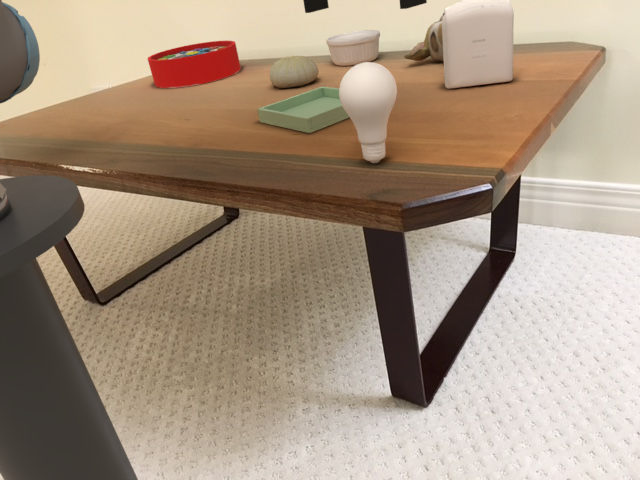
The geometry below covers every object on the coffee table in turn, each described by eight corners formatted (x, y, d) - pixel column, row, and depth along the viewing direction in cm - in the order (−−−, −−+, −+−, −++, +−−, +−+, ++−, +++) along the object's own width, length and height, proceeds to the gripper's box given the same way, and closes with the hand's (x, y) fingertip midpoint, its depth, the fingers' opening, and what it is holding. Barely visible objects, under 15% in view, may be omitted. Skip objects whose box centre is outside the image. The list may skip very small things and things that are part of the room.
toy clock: (128, 62, 120) (186, 43, 134) (136, 89, 122) (192, 67, 137) (197, 58, 110) (252, 38, 125) (204, 87, 113) (257, 64, 128)
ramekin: (337, 57, 120) (334, 32, 118) (387, 53, 116) (384, 27, 114) (322, 69, 111) (318, 42, 109) (375, 65, 107) (372, 37, 105)
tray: (309, 133, 74) (307, 118, 73) (259, 122, 83) (257, 108, 82) (376, 106, 81) (375, 92, 80) (324, 98, 90) (322, 86, 89)
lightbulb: (348, 176, 59) (335, 73, 53) (347, 156, 64) (335, 61, 59) (404, 169, 58) (397, 64, 53) (399, 149, 63) (392, 53, 58)
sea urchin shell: (305, 78, 96) (274, 47, 96) (285, 109, 102) (255, 79, 102) (330, 66, 103) (300, 36, 103) (310, 95, 108) (281, 67, 108)
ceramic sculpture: (491, 0, 99) (451, 21, 90) (492, 48, 103) (454, 73, 95) (439, 4, 106) (397, 24, 97) (443, 49, 110) (403, 72, 101)
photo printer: (444, 91, 83) (442, 4, 77) (443, 84, 87) (440, 1, 81) (515, 83, 81) (517, -6, 75) (510, 76, 85) (512, -9, 79)
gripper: (492, -348, 36) (493, -5, 46) (276, -222, 54) (310, 5, 64) (418, -366, 32) (437, 12, 42) (212, -224, 50) (259, 18, 60)
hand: (361, 8), depth 53 cm, fingers open, 13 cm apart
